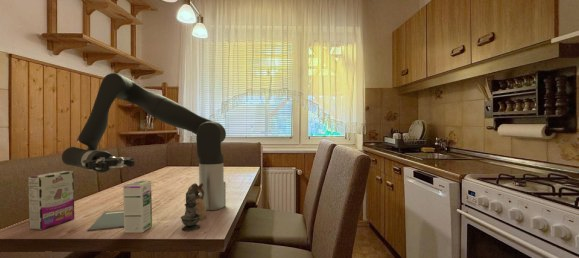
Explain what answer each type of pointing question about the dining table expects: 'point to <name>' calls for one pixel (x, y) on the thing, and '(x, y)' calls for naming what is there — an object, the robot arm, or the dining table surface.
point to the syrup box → (137, 206)
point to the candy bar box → (51, 199)
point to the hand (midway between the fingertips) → (119, 164)
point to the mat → (109, 220)
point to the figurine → (199, 200)
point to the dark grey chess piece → (190, 213)
